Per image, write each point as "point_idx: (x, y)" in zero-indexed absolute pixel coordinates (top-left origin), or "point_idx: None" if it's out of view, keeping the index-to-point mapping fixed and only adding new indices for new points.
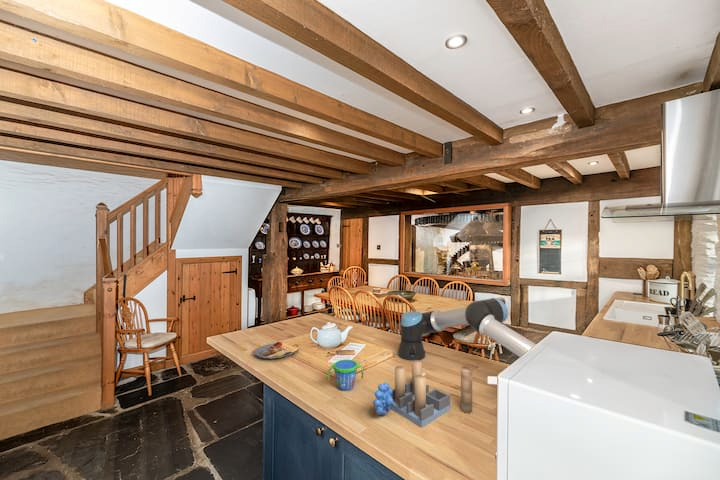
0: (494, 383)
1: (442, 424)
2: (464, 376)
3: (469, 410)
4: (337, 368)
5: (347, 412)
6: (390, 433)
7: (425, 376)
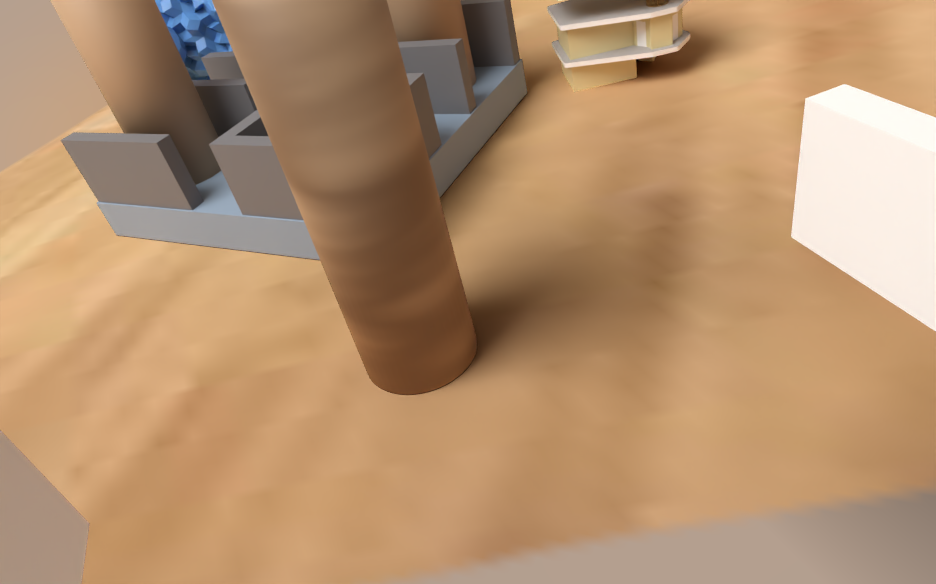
0: (910, 297)
1: (162, 292)
2: None
3: (363, 356)
4: None
5: None
6: (64, 182)
7: (672, 6)
